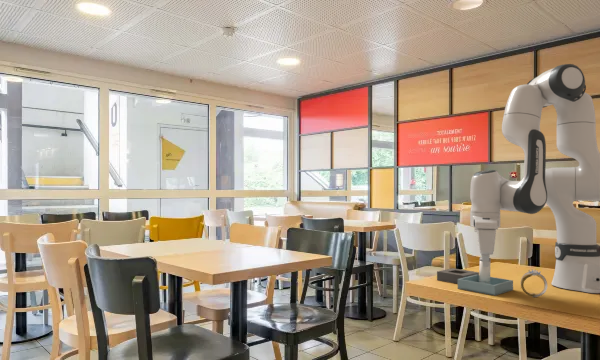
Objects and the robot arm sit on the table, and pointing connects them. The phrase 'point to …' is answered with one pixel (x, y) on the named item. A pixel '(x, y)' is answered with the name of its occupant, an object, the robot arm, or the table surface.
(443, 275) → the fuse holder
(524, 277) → the ring
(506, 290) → the tray
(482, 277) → the cylinder
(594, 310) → the table surface
